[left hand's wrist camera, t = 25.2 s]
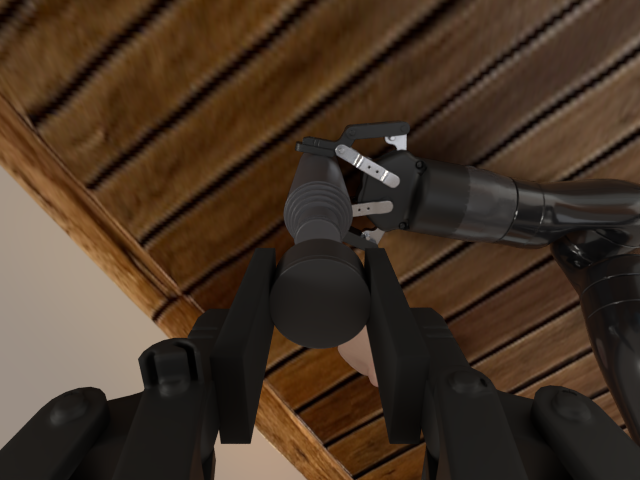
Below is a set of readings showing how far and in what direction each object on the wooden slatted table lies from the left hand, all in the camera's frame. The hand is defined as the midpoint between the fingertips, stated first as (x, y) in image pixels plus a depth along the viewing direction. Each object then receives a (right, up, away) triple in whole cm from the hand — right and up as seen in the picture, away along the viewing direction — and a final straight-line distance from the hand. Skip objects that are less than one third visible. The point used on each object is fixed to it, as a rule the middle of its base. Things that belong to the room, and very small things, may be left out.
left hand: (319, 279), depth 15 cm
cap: (0, -1, -2) cm, 2 cm away
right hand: (-3, +8, +22) cm, 23 cm away
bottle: (0, +10, +28) cm, 30 cm away
